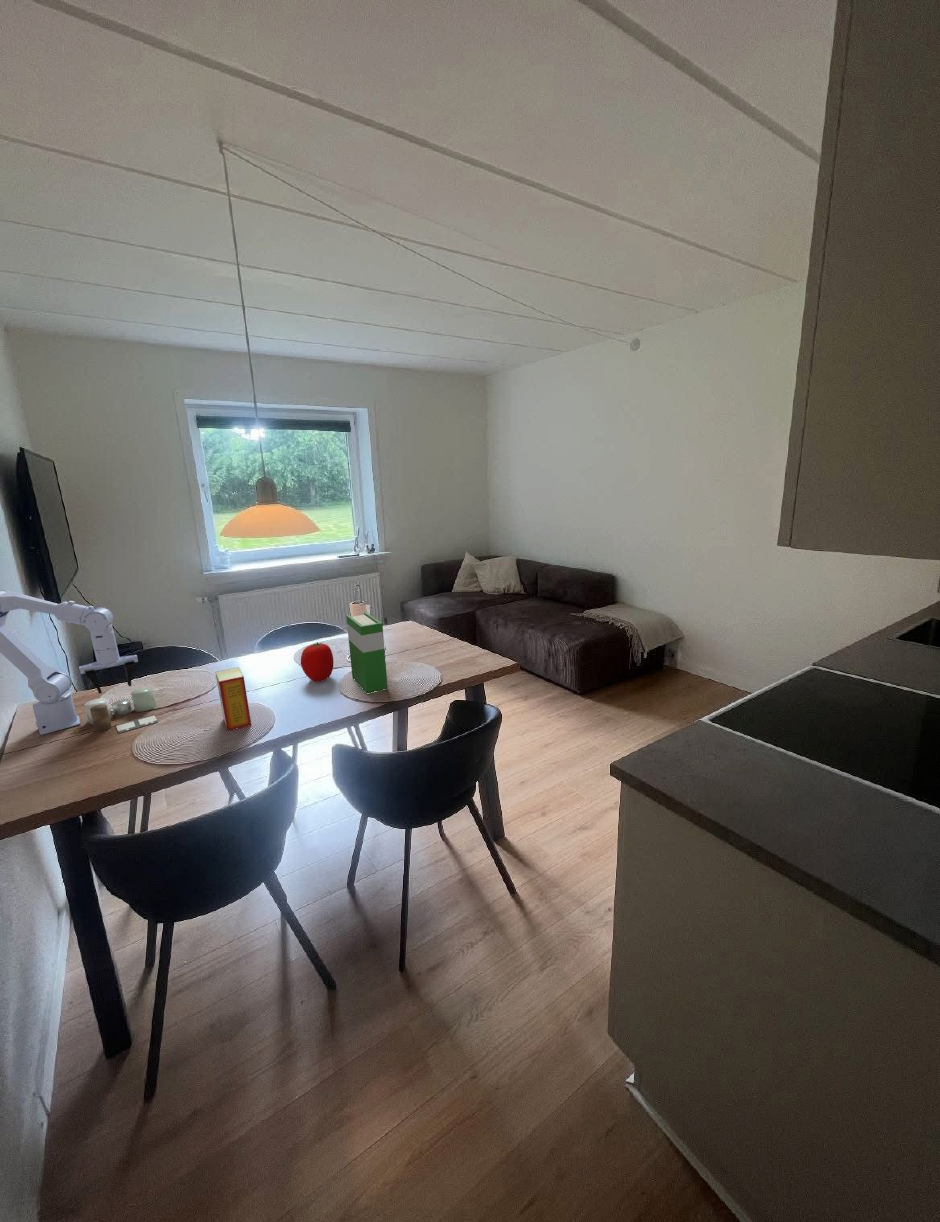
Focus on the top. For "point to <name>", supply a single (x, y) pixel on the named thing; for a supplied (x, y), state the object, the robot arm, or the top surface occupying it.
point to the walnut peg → (100, 717)
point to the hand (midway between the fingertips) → (115, 688)
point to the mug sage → (143, 699)
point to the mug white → (94, 703)
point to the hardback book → (367, 652)
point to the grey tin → (122, 707)
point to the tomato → (317, 662)
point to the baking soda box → (233, 698)
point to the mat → (136, 723)
